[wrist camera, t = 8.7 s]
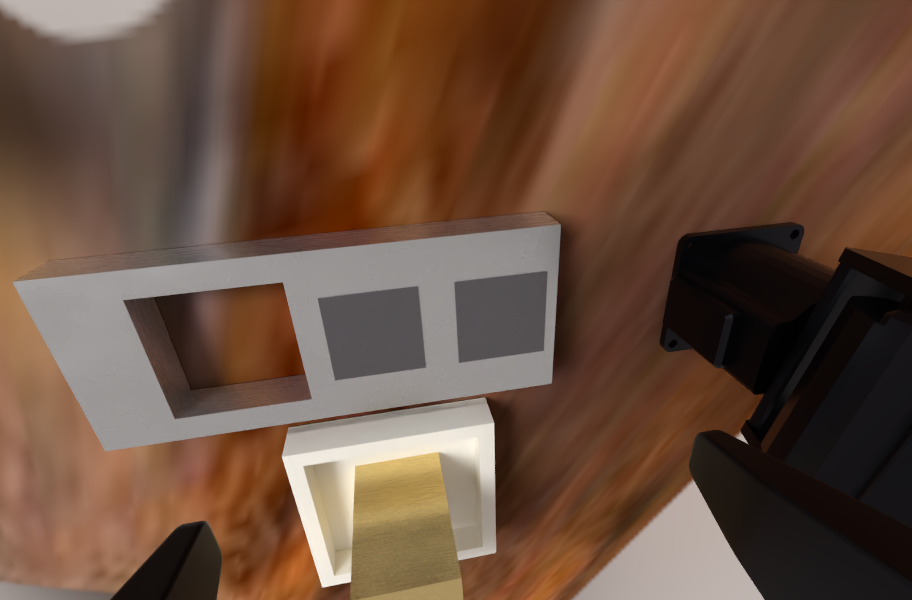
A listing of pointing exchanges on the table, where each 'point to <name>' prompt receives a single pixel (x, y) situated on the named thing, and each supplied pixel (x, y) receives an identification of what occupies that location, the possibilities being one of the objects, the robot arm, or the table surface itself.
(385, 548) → the wood grain block
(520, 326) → the grey flat plate
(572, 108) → the table surface
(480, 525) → the tray
